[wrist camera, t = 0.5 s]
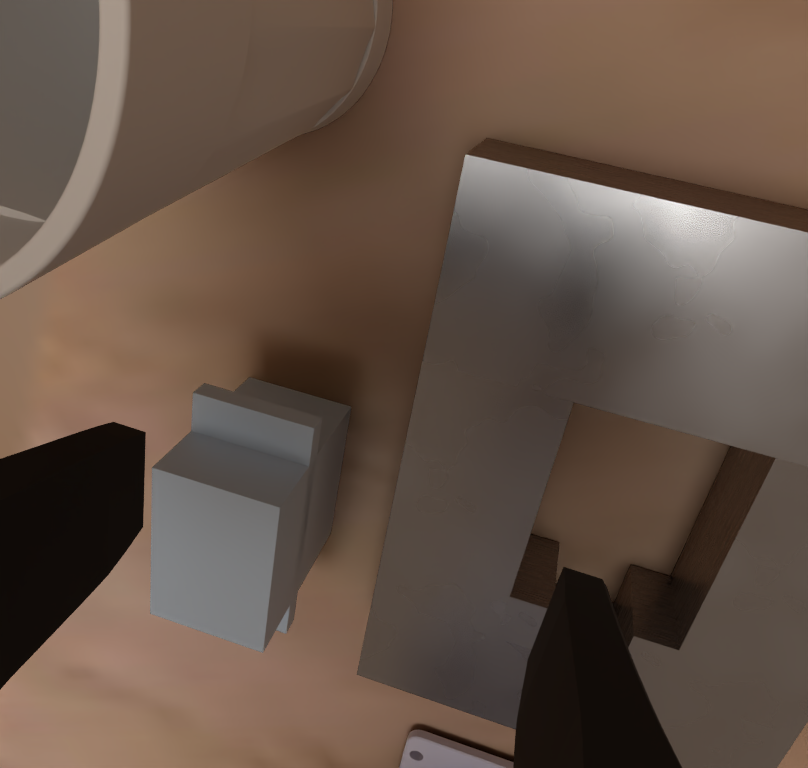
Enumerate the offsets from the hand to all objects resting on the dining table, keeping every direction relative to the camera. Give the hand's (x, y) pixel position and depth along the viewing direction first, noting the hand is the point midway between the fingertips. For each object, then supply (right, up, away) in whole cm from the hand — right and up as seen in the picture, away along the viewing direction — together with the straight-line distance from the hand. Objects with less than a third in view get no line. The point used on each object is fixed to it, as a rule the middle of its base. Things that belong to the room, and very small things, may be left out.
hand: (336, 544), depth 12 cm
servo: (-3, 0, +12) cm, 12 cm away
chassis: (+7, 0, +9) cm, 11 cm away
